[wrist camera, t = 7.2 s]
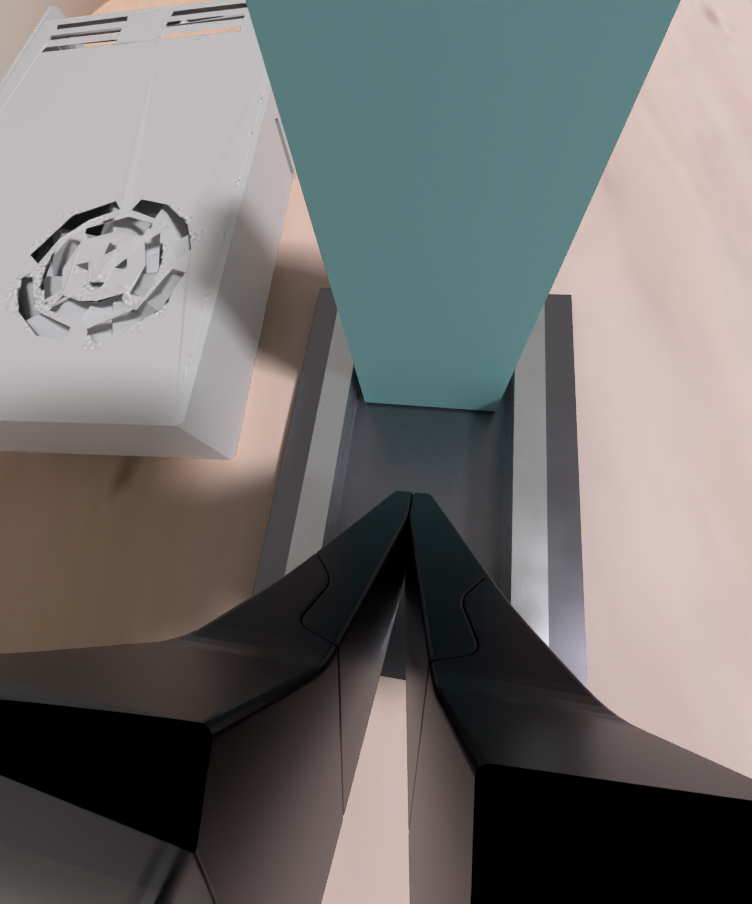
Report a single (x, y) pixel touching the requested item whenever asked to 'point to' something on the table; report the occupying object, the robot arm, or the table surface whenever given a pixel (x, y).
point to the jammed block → (450, 167)
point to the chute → (445, 476)
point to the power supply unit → (136, 231)
